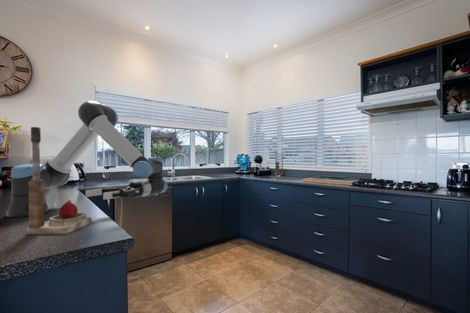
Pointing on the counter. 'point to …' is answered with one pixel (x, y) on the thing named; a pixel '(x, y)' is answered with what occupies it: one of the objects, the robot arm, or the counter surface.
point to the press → (37, 200)
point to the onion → (68, 210)
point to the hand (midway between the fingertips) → (94, 194)
